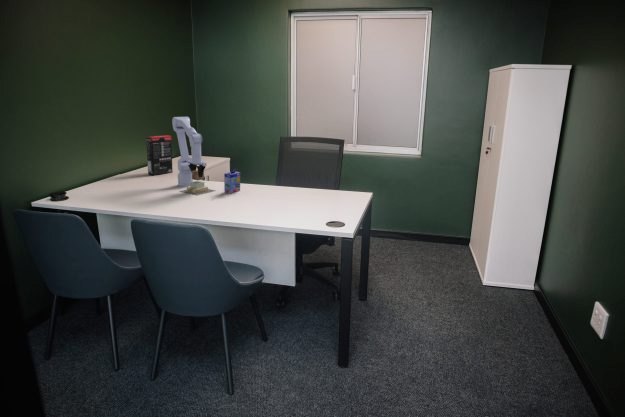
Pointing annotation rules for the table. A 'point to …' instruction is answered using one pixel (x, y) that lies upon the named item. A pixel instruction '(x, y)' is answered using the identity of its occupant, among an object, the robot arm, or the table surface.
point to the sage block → (196, 184)
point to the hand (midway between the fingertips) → (197, 176)
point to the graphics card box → (159, 154)
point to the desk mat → (197, 193)
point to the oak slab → (197, 189)
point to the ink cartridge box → (232, 182)
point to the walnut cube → (197, 175)
